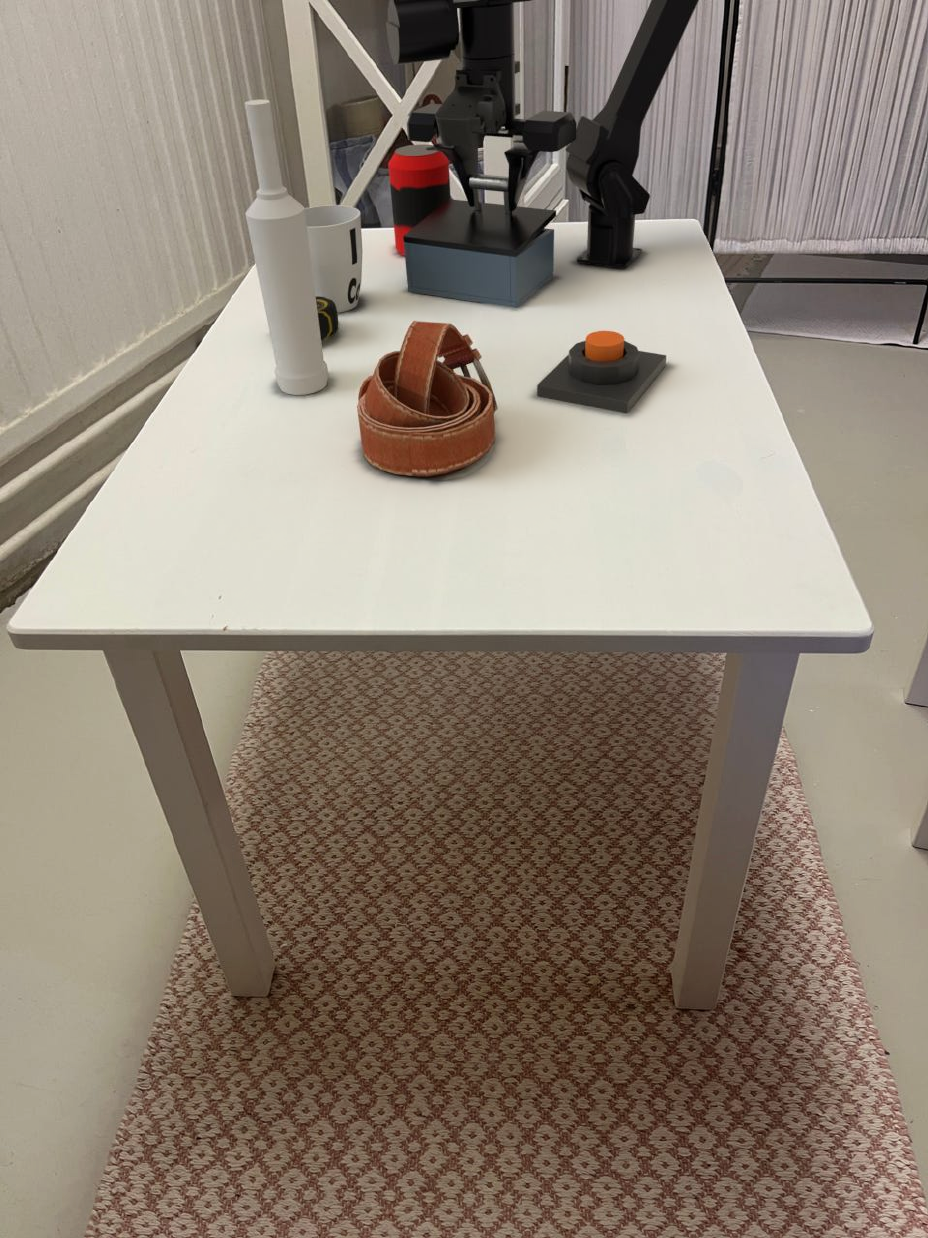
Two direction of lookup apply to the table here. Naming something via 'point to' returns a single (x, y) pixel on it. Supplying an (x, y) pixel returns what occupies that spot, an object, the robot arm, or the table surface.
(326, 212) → the cup
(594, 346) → the button
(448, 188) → the soda can
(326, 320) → the tape measure
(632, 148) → the robot arm
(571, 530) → the table surface
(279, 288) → the bottle
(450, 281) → the storage case
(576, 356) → the block
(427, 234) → the box lid
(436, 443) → the belt
